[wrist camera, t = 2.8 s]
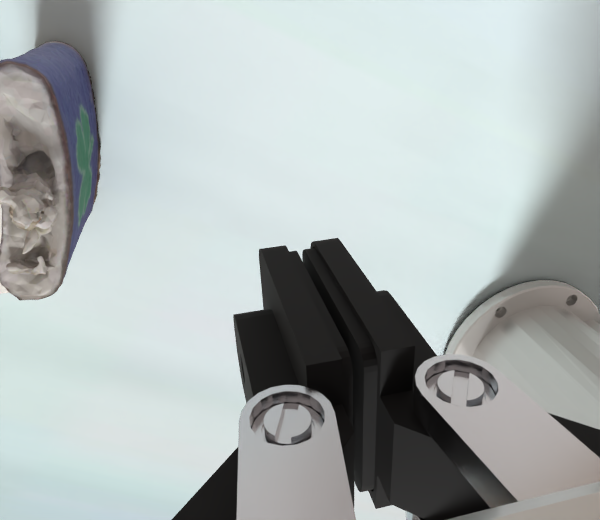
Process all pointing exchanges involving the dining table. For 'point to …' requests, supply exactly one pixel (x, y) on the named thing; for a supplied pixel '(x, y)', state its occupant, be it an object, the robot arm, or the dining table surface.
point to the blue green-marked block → (45, 165)
